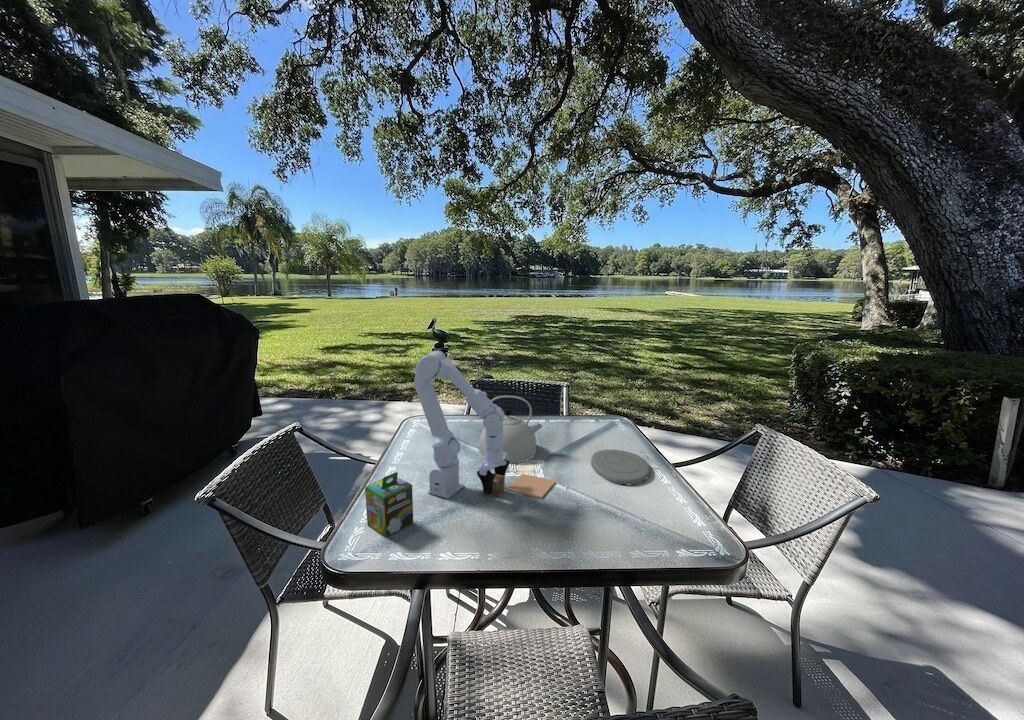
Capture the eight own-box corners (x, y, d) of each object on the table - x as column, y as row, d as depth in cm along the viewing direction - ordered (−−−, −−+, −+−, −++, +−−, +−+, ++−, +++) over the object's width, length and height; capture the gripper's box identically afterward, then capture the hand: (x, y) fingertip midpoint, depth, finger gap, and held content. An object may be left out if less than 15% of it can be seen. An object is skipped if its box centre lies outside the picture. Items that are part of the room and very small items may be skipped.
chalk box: (394, 511, 121) (392, 463, 118) (414, 523, 115) (413, 472, 113) (365, 525, 114) (362, 474, 111) (385, 538, 108) (383, 484, 106)
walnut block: (496, 497, 130) (497, 482, 129) (482, 493, 132) (482, 479, 131) (504, 490, 134) (504, 476, 134) (490, 487, 137) (490, 472, 136)
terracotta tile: (541, 498, 129) (541, 497, 129) (506, 490, 135) (506, 488, 134) (555, 482, 140) (555, 481, 140) (522, 475, 145) (522, 473, 145)
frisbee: (601, 486, 139) (601, 479, 138) (585, 454, 165) (585, 448, 165) (662, 486, 139) (662, 479, 139) (636, 454, 166) (636, 448, 165)
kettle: (540, 441, 177) (542, 389, 173) (543, 464, 155) (545, 404, 151) (481, 440, 178) (481, 387, 174) (475, 462, 156) (475, 403, 152)
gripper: (494, 457, 122) (493, 501, 125) (515, 441, 135) (515, 481, 138) (473, 453, 126) (473, 495, 128) (496, 437, 138) (496, 476, 141)
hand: (493, 487), depth 133 cm, fingers open, 7 cm apart
